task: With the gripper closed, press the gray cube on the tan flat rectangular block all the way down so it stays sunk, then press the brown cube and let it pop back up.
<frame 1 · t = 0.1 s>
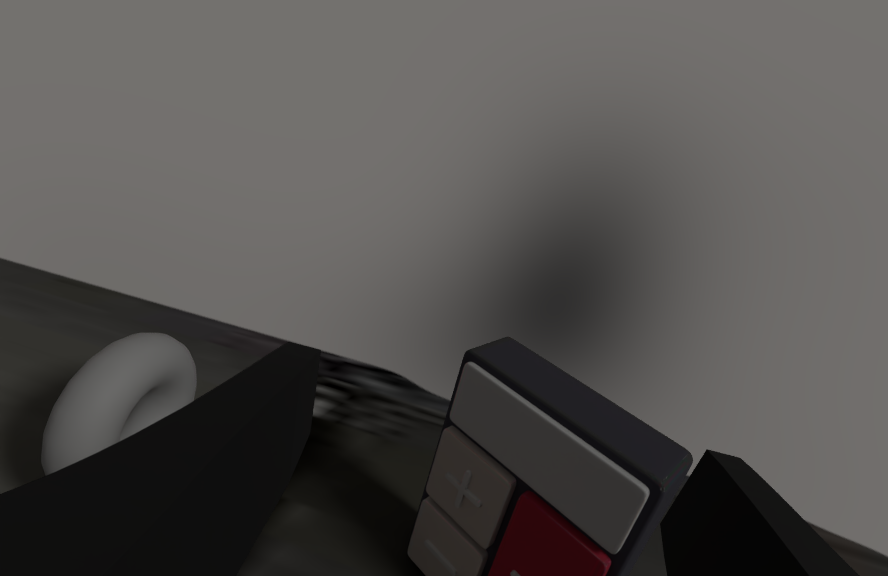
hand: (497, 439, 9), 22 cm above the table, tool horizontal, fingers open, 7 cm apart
donut: (129, 480, 32), on the table
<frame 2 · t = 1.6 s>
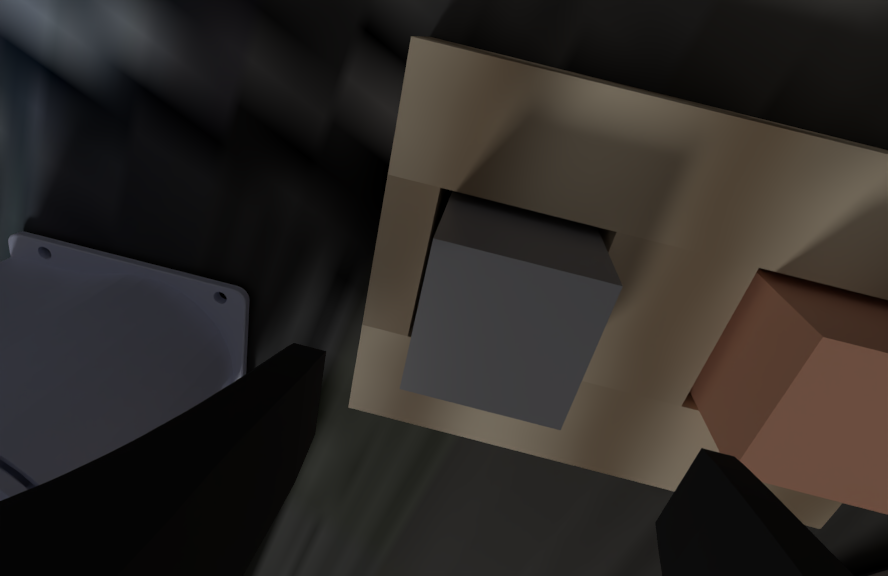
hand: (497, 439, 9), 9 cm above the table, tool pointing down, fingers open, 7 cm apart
brown cube: (817, 383, 14), point 4 cm above the table, slide at 0.0 cm
tan flat rectangular block: (630, 282, 18), on the table
gray cube: (503, 303, 14), point 4 cm above the table, slide at 0.0 cm
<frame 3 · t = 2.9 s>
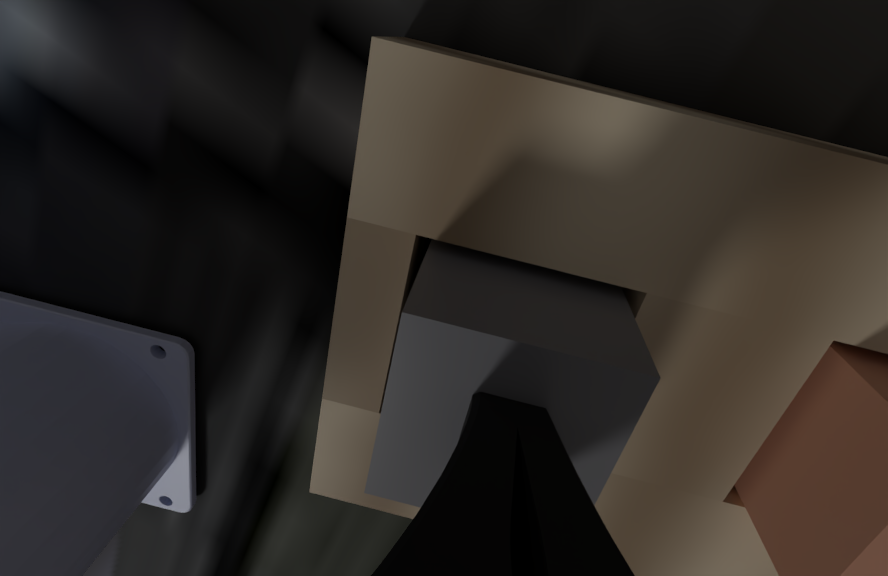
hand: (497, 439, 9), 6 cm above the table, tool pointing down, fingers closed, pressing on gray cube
tan flat rectangular block: (656, 338, 14), on the table
gray cube: (498, 377, 11), point 4 cm above the table, slide at 0.3 cm, touching gripper
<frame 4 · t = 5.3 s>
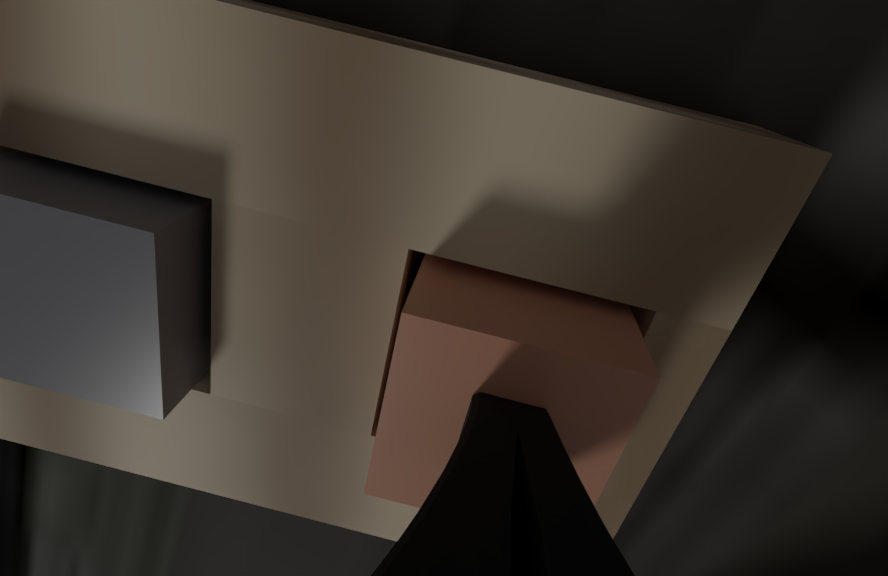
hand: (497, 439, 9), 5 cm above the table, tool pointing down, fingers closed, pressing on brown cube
brown cube: (498, 377, 11), point 3 cm above the table, slide at 1.1 cm, touching gripper
tan flat rectangular block: (340, 272, 14), on the table
gray cube: (121, 267, 12), point 2 cm above the table, slide at 1.6 cm
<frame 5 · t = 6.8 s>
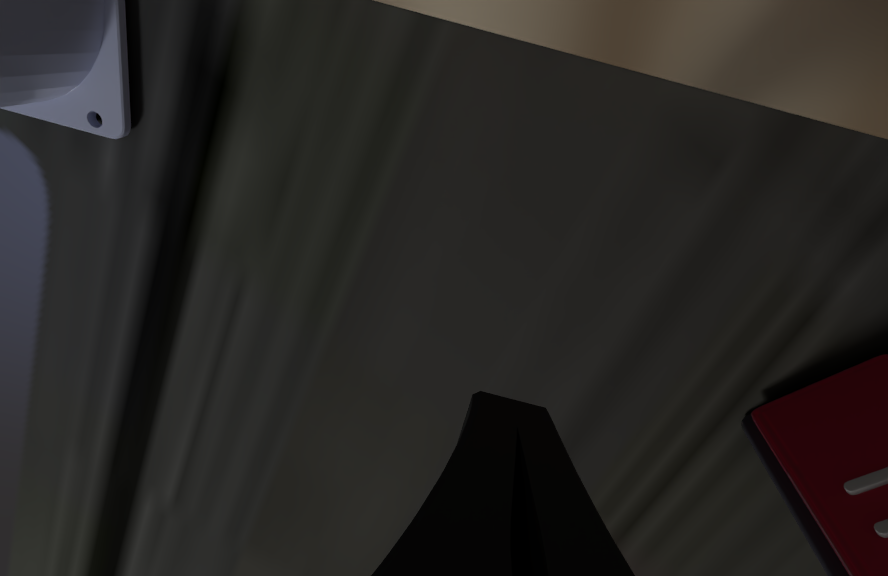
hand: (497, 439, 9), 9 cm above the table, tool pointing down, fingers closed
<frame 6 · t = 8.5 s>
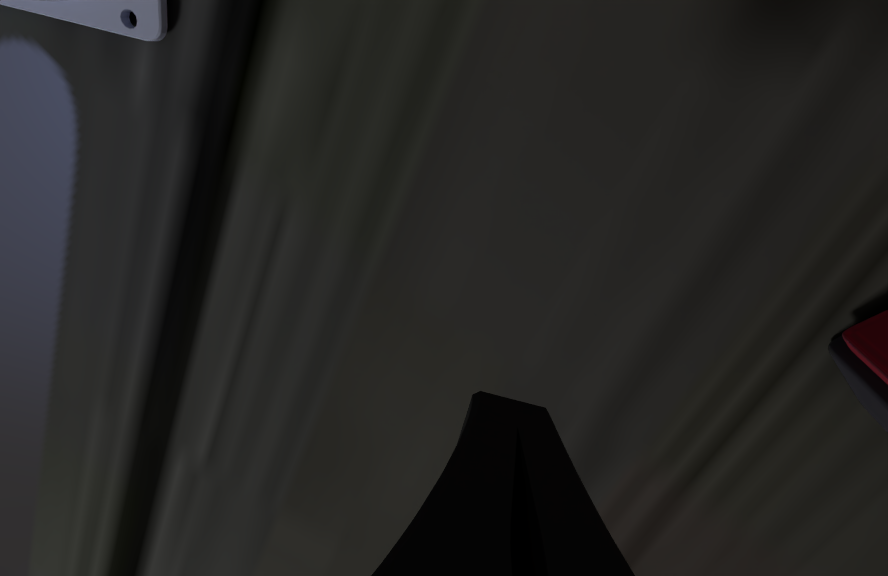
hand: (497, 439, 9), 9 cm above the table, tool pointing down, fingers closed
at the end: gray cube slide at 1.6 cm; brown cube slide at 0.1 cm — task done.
